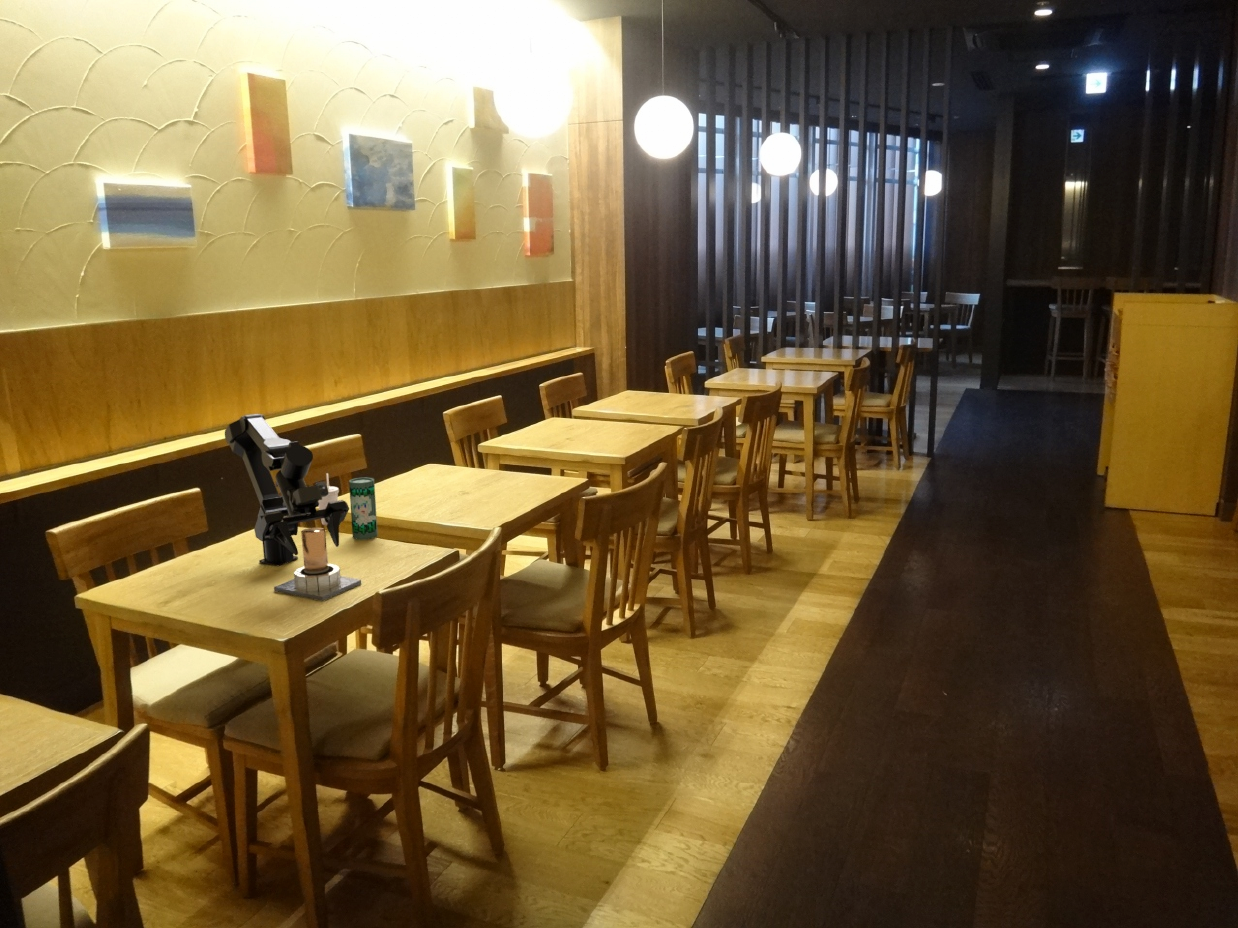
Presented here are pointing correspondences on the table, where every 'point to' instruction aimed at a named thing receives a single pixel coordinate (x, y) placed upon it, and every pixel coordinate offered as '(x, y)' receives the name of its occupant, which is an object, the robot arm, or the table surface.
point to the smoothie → (328, 498)
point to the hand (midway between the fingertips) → (317, 550)
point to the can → (363, 508)
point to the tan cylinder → (314, 551)
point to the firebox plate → (320, 593)
